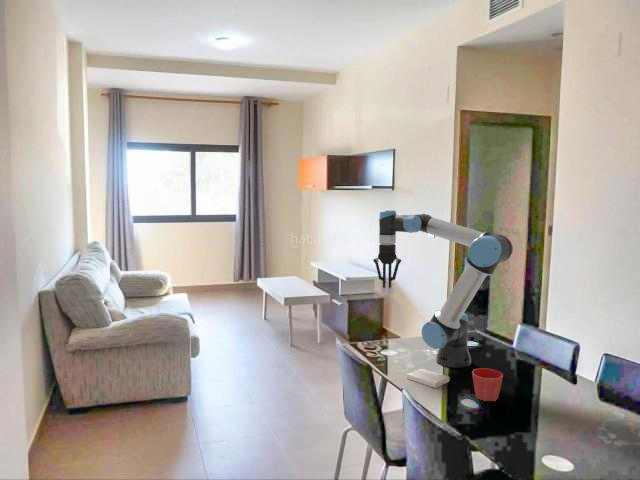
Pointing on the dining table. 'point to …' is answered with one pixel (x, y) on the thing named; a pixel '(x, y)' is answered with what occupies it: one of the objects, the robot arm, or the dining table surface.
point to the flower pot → (487, 383)
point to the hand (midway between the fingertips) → (386, 294)
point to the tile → (428, 378)
